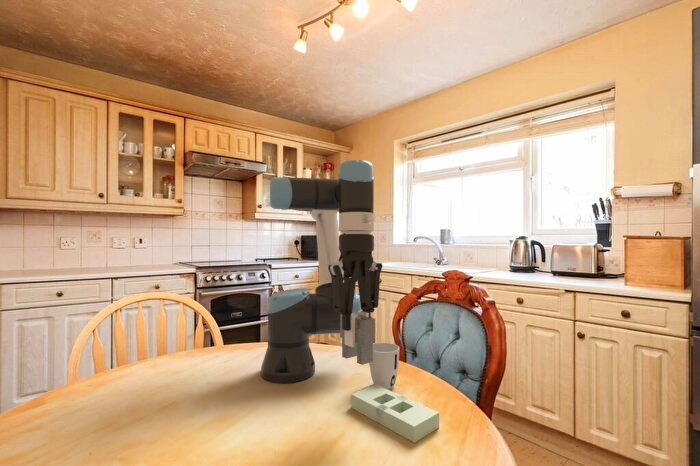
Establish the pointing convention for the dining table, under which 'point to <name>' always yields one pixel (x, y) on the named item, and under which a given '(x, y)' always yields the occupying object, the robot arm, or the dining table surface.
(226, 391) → the dining table surface
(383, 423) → the block with rectangular hole
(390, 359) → the cup
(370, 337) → the grey foam block
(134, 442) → the dining table surface
